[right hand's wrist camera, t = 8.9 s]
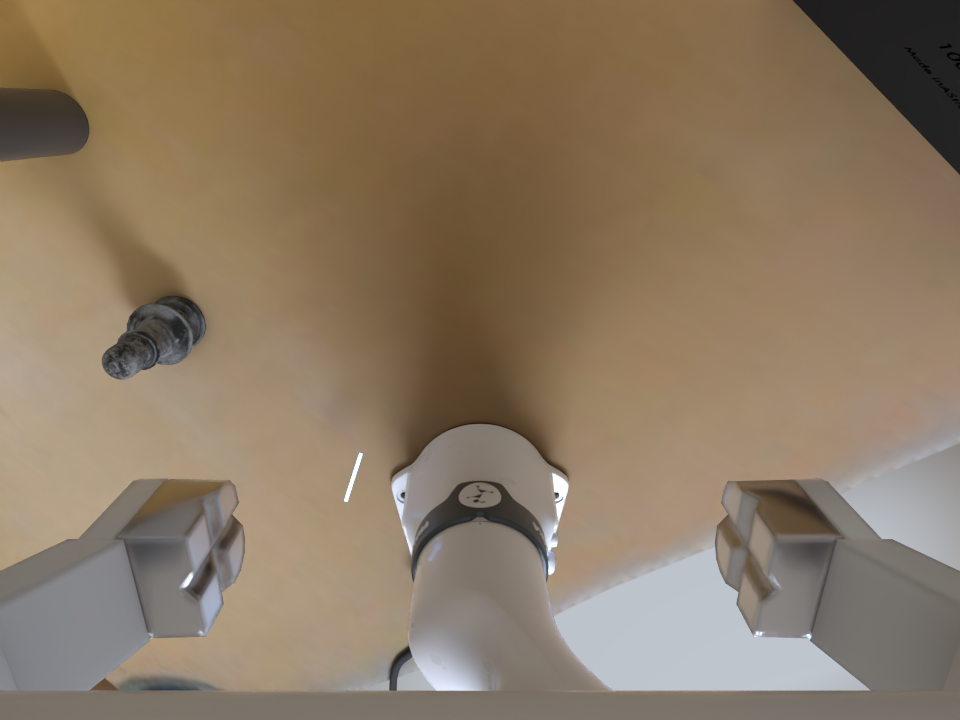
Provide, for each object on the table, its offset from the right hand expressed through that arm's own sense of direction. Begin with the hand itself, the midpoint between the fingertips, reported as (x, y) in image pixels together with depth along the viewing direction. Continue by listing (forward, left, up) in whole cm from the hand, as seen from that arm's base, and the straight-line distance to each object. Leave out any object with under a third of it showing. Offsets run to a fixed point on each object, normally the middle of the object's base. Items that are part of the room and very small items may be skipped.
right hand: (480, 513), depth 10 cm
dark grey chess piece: (-13, +29, -48) cm, 58 cm away
